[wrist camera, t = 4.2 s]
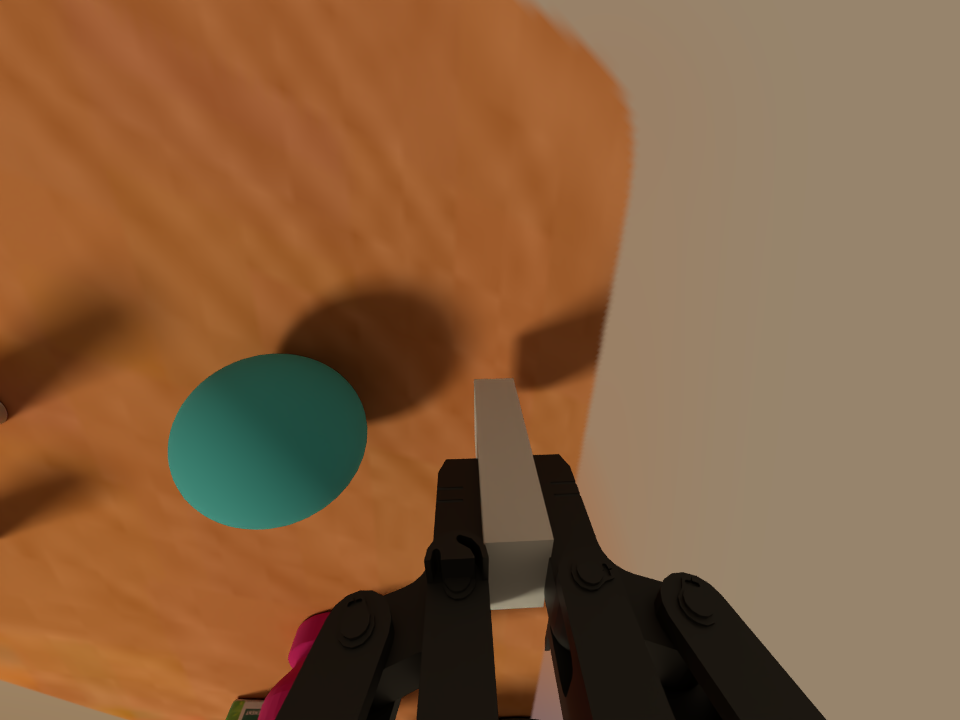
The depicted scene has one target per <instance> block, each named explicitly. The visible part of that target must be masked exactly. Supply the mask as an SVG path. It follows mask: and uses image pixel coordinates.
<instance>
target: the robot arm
mask: <svg viewBox="0 0 960 720" xmlns="http://www.w3.org/2000/svg"><path fill="white" fill-rule="evenodd" d="M474 413H475V448H476V458H474V459H447V460H445V462H444V464H443V466H442V467H441V469H440V471H439V472H438V484H437V498H436V512H435V525H434V539H433V542H432V543H431V545H430V546H429V547H428V549H427V552H426V556H425V559H424V564H425V571H424V573H423V574H422V575H421V576H420V577H419V578H418V579H417V580H416V581H414V582H413V583H411V584H410V585H408V586H406V587H404V588H401V589H399V590H397V591H394V592H392V593H389V594H387V595H385V596H382V595H381V594H378V593H376V592H374V591H372V590H369V591H358V592H355V593H353V594H350V595H348V596H346V597H345V598H344V599H343V600H341V601H340V602H339V603H338V604H336V605H335V607H334V608H333V609H332V611H331V612H330V614H329V615H328V617H327V618H326V620H325V622H324V624H323V626H322V628H321V630H320V632H319V634H318V636H317V638H316V639H315V641H314V643H313V645H312V647H311V649H310V651H309V653H308V655H307V657H306V659H305V661H304V663H303V665H302V667H301V669H300V671H299V673H298V675H297V677H296V679H295V681H294V683H293V685H292V687H291V689H290V691H289V692H288V694H287V696H286V698H285V700H284V702H283V704H282V706H281V708H280V710H279V712H278V714H277V716H276V718H275V720H395V718H396V715H397V711H398V708H399V704H400V701H401V698H402V697H403V696H405V695H407V694H409V693H411V692H413V691H415V690H417V689H419V695H418V708H417V720H498V707H497V693H496V679H495V664H494V650H493V636H492V622H491V610H498V609H516V608H533V607H543V604H544V598H545V602H546V607H547V612H548V617H549V619H548V625H547V631H546V636H545V651H549V650H551V655H552V661H553V666H554V672H555V677H556V682H557V688H558V693H559V699H560V704H561V710H562V715H563V720H826V719H825V718H824V716H823V715H822V714H821V713H820V712H819V711H818V709H817V708H816V707H815V706H814V705H813V703H812V702H811V701H810V700H809V699H808V698H807V696H806V695H805V694H804V693H803V692H802V690H801V689H800V688H799V687H798V685H797V684H796V683H795V682H794V681H793V680H792V678H791V677H790V676H789V675H788V674H787V672H786V671H785V670H784V669H783V668H782V666H781V665H780V664H779V663H778V662H777V661H776V659H775V658H774V657H773V656H772V655H771V653H770V652H769V651H768V650H767V649H766V647H765V646H764V645H763V644H762V643H761V641H760V640H759V639H758V638H757V637H756V635H755V634H754V633H753V632H752V631H751V630H750V629H749V627H748V626H747V625H746V624H745V622H744V621H743V620H742V619H741V618H740V616H739V615H738V614H737V613H736V612H735V610H734V609H733V608H732V607H731V606H730V605H729V603H728V602H727V601H726V600H725V599H724V597H723V596H722V595H721V594H720V593H719V592H718V591H717V590H716V589H715V588H714V587H712V586H711V585H710V584H709V583H707V582H706V581H704V580H702V579H701V578H699V577H697V576H694V575H691V574H687V573H684V572H681V573H672V574H670V575H669V576H668V577H666V578H665V579H664V580H663V582H661V581H657V580H654V579H650V578H646V577H643V576H639V575H636V574H633V573H630V572H628V571H625V570H623V569H622V568H620V567H618V566H616V565H615V564H614V563H613V562H612V561H611V560H609V559H608V558H607V556H606V555H605V554H604V552H603V551H602V550H601V548H600V546H599V544H598V542H597V539H596V536H595V534H594V531H593V528H592V526H591V523H590V520H589V517H588V515H587V512H586V509H585V506H584V503H583V501H582V498H581V496H580V493H579V490H578V487H577V484H575V479H574V476H573V473H572V471H571V468H570V466H569V465H568V464H567V463H566V462H565V460H564V459H563V458H562V457H561V456H560V455H559V454H553V455H532V451H531V447H530V443H529V439H528V435H527V431H526V427H525V423H524V419H523V415H522V411H521V407H520V403H519V399H518V395H517V391H516V387H515V383H514V379H513V378H506V379H474ZM502 720H536V719H502Z"/></svg>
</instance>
